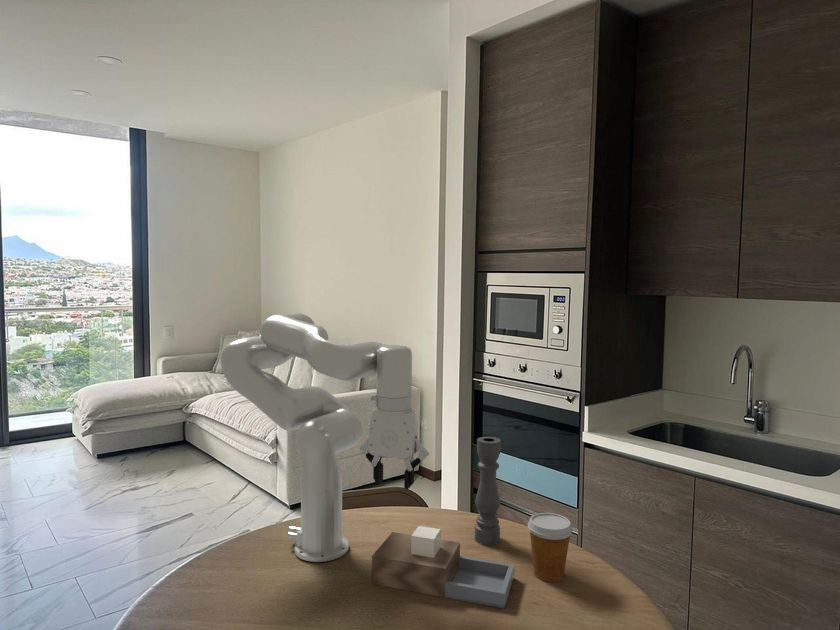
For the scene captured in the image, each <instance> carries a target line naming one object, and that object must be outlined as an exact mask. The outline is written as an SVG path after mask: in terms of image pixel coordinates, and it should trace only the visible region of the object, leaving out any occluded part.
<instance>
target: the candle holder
mask: <svg viewBox="0 0 840 630" xmlns="http://www.w3.org/2000/svg"><path fill="white" fill-rule="evenodd" d="M476 453H477V456H478V458H479V462H478V463H477V467H478V469H479V471H480V475H479V476H480V478H479V483H478V484H479V485H478V488H477V492H476V496H475V500H474V502H475V506H476V507H475V508H476V509H477V510H478V516H477V517H476V519H475V524H474V541H475V542H476V543H477V544H480V545H483V546H495V545H497V544H499V543H500V541H501V526H500V520H499V518H498V517H497V512H498V510H499V509H500V507H501V499H500V494H499V491H498V485H497V470H498V469H499V468H500V463H498V462H497V461H498V459H499V458H500V454H501V439H500V438H498V437H495V436H482V437H478V438H477V439H476Z"/></svg>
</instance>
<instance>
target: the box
mask: <svg viewBox="0 0 840 630" xmlns="http://www.w3.org/2000/svg"><path fill="white" fill-rule="evenodd" d="M514 579H515V564H514V563H513V564H512V563H508V562H500V561H495V560H489V559H484V558H478V557H477V558H475V557H470V556H464V555H460V556H459V569H458V571H457V573H456V575H455V577H454V579H453V581H452V582H451V581H446V583H445V597H444V598H445V599H451V600H456V601H463V602H467V603H472V604H478V605H484V606H488V607H494V608H499V609H503V610H505V608H506V605H507V602H508V599H509V596H510V592H511V589H512V586H513V582H514Z"/></svg>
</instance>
